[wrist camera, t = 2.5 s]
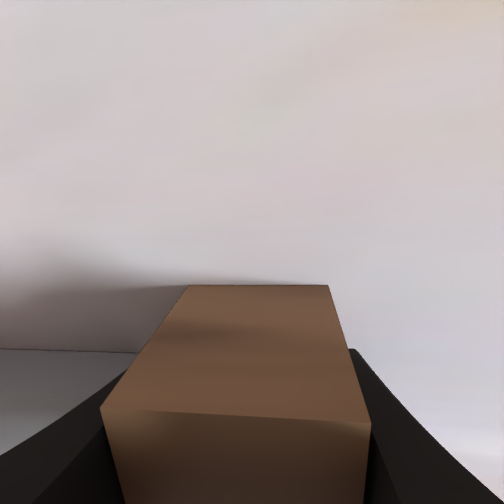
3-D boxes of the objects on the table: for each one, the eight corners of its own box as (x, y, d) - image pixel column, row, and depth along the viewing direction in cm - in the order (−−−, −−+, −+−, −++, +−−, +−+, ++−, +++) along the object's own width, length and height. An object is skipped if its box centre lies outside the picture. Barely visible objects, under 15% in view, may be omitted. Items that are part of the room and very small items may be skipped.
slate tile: (171, 516, 14) (153, 573, 12) (-1, 498, 15) (-43, 549, 13) (138, 353, 11) (107, 395, 9) (-72, 346, 12) (-139, 383, 10)
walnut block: (323, 398, 11) (353, 593, 6) (202, 393, 11) (142, 567, 7) (328, 285, 9) (371, 423, 5) (189, 284, 10) (99, 407, 5)
